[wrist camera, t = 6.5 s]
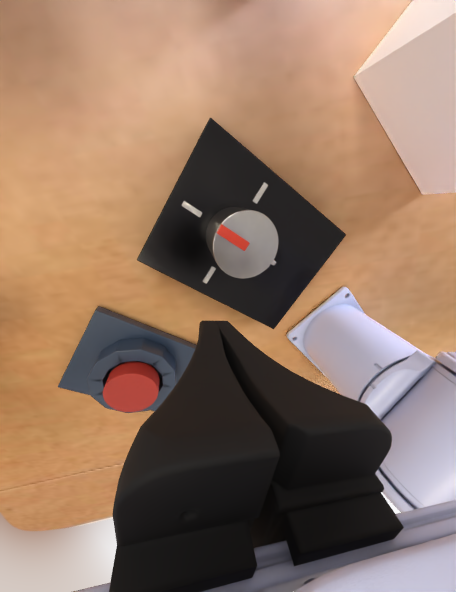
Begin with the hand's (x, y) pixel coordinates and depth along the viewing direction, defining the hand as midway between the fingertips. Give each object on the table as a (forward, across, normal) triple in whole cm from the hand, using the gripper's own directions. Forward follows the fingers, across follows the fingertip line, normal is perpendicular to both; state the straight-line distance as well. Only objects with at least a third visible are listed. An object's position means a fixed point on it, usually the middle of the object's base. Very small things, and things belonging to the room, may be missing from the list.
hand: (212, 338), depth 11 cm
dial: (+7, -2, -4) cm, 8 cm away
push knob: (+8, +5, +10) cm, 13 cm away
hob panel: (+10, -3, -3) cm, 11 cm away
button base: (+10, +5, +10) cm, 15 cm away
